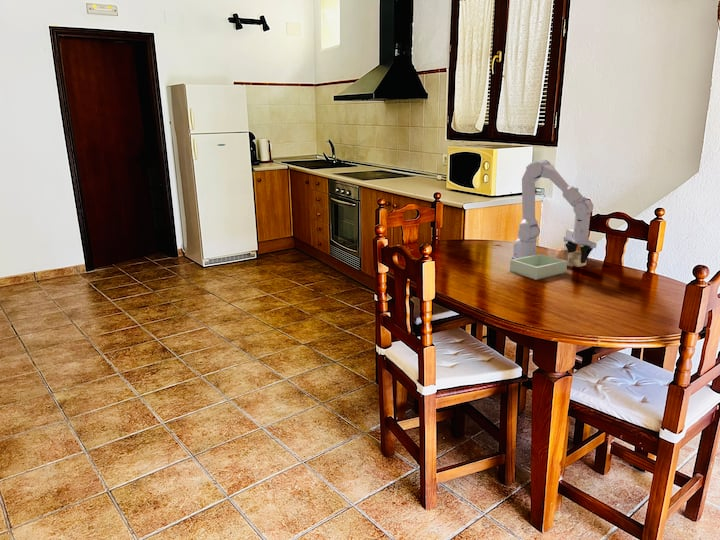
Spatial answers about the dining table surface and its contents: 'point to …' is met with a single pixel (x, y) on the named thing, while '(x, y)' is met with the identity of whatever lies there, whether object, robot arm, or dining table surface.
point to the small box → (570, 234)
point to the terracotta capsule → (562, 254)
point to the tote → (538, 266)
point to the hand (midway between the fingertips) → (577, 261)
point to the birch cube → (575, 259)
